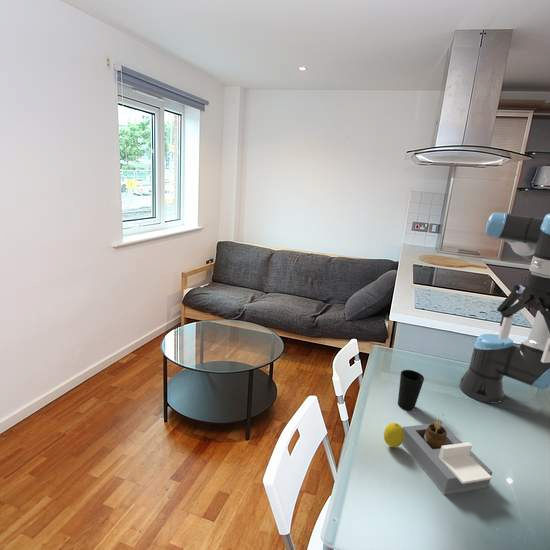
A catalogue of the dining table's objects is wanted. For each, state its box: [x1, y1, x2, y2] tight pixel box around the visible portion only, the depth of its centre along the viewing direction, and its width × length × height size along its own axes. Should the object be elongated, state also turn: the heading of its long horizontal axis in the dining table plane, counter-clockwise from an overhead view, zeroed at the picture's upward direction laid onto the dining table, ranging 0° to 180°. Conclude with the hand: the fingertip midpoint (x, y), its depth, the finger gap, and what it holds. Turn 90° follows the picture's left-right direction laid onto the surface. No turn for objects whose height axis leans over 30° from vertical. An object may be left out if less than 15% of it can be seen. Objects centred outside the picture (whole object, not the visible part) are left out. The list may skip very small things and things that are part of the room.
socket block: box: [401, 422, 493, 496], centre depth 108 cm, size 14×20×5 cm
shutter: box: [439, 442, 493, 484], centre depth 100 cm, size 9×9×4 cm
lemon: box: [383, 422, 404, 448], centre depth 112 cm, size 6×6×8 cm
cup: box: [397, 369, 425, 412], centre depth 133 cm, size 8×8×12 cm
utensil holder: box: [423, 413, 447, 449], centre depth 110 cm, size 6×6×12 cm
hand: (523, 349), depth 104 cm, fingers open, 13 cm apart
